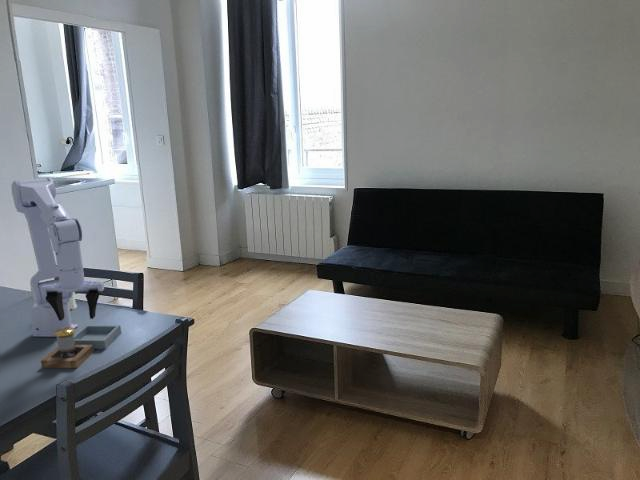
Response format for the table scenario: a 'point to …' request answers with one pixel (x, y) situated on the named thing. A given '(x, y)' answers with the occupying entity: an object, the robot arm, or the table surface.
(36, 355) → the table surface
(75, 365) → the socket block
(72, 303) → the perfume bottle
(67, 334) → the jar with gold lid
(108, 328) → the tray
